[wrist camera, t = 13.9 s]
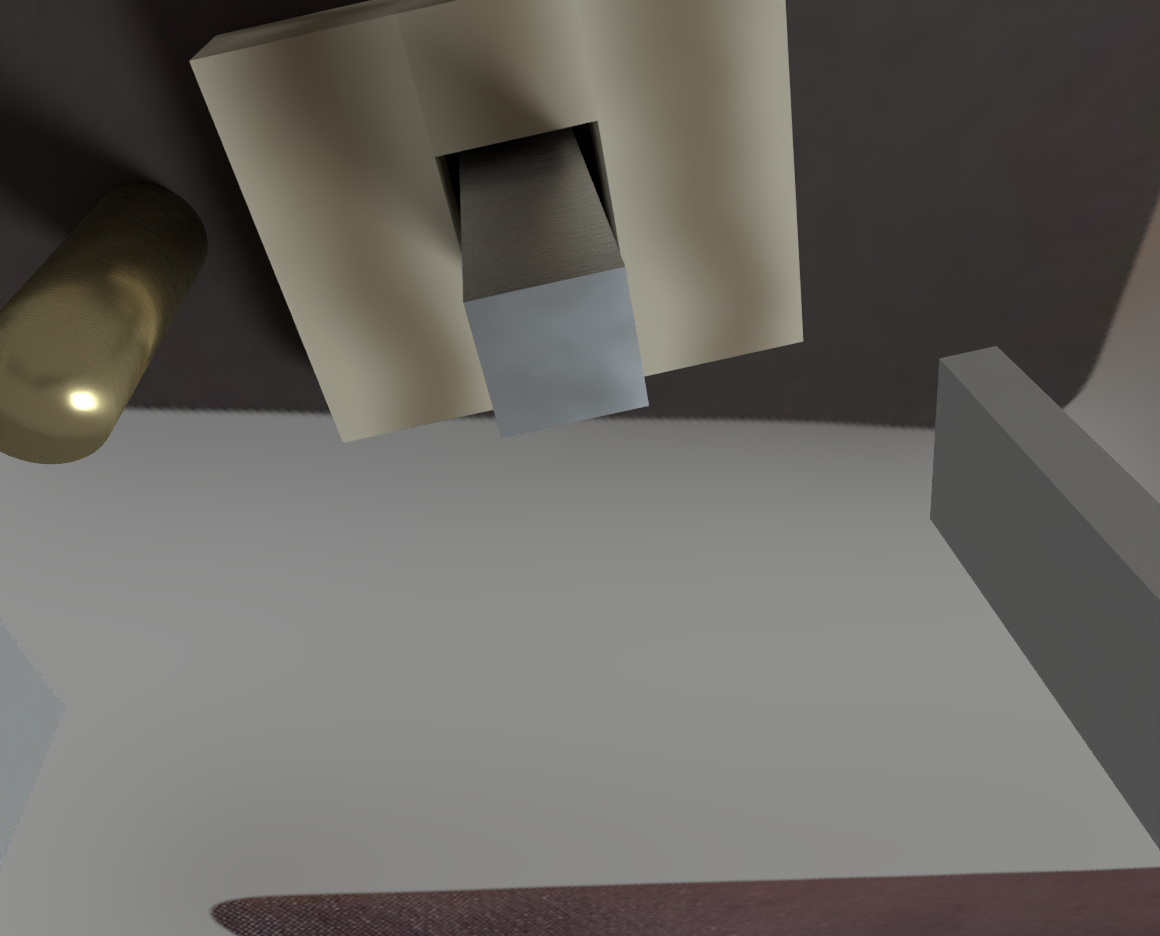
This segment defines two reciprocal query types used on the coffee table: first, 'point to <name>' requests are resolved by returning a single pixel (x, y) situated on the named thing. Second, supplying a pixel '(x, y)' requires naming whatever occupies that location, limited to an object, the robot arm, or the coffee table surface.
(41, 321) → the round bit
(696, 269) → the socket block
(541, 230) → the square bit
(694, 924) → the coffee table surface
